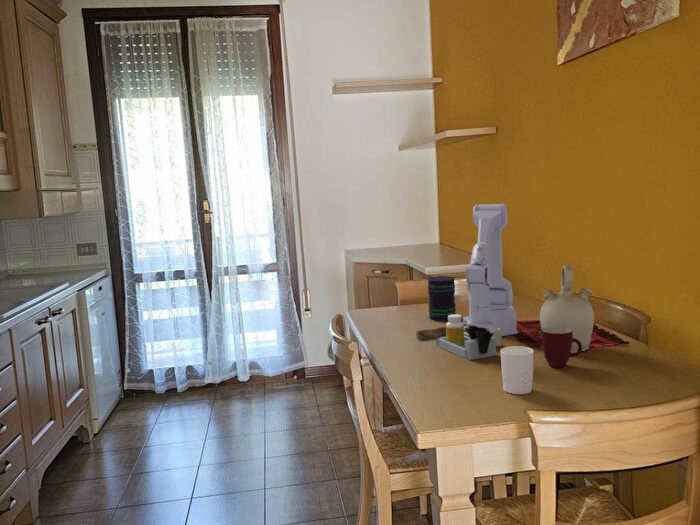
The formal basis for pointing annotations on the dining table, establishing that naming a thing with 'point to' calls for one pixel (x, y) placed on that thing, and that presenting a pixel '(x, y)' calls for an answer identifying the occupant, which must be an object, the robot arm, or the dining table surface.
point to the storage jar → (441, 297)
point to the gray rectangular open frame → (467, 348)
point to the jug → (569, 310)
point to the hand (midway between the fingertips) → (480, 352)
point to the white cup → (517, 369)
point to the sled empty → (495, 335)
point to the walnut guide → (432, 332)
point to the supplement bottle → (455, 330)
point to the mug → (558, 345)
